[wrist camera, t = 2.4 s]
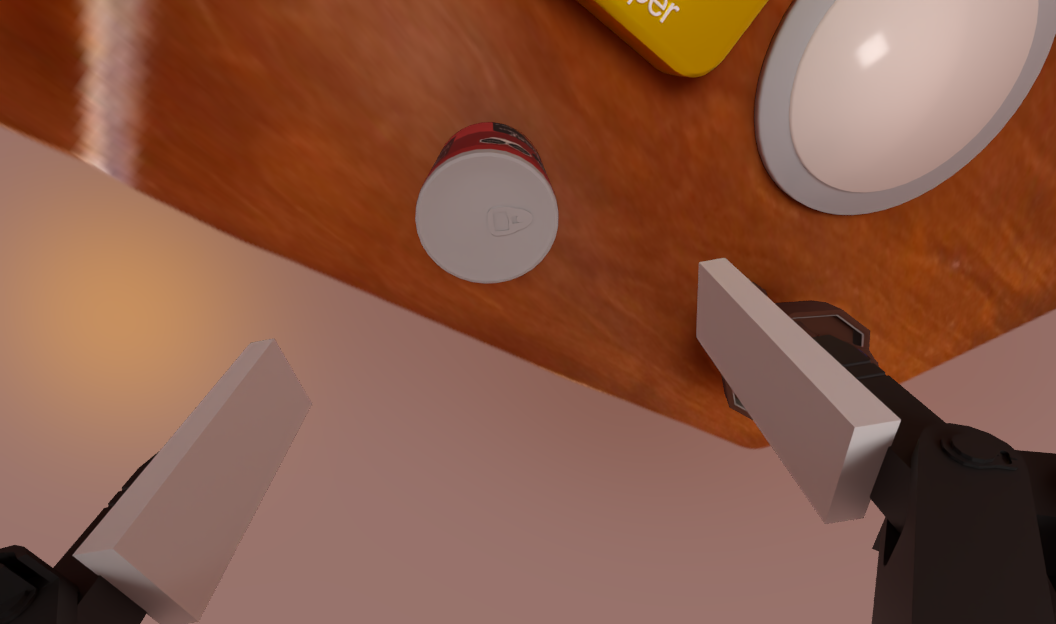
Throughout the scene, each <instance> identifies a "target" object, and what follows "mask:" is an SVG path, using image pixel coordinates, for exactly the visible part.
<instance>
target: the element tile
mask: <svg viewBox="0 0 1056 624" xmlns="http://www.w3.org/2000/svg"><path fill="white" fill-rule="evenodd" d="M576 1H577V2H578V3H580V4H581V5H582V6H583V7H584V8H585V9H587V10H588V11H589V12H590V13H591V14H592V15H594V16H595V17H596V18H597V19H598V20H600V21H601V22H602V23H603V24H604V25H605V26H607V27H608V28H609V29H610V30H611V31H612V32H614V33H615V34H616V35H617V36H618V37H619V38H621V39H622V40H623V41H624V42H625V43H626V44H628V45H629V46H630V47H631V48H632V49H634V50H635V51H636V52H637V53H638V54H639V55H641V56H642V57H643V58H644V59H645V60H646V61H648V62H649V63H650V64H651V65H652V66H653V67H655V68H656V69H657V70H659V71H661V72H663V73H666V74H671V75H676V76H682V77H689V78H695V77H700V76H704V75H705V74H707V73H708V72H710V71H711V70H713V69H714V68H716V67H717V66H718V65H719V64H720V63H721V62H722V61H723V59H724V58H725V57H726V56H727V54H728V53H729V52H730V50H731V49H732V48H733V46H734V45H735V44H736V42H737V41H738V40H739V38H740V37H741V36H742V34H743V33H744V32H745V30H746V29H747V28H748V26H749V25H750V24H751V23H752V21H753V20H754V19H755V17H756V16H757V15H758V13H759V12H760V11H761V9H762V8H763V7H764V5H765V4H766V3H767V1H768V0H576Z"/></svg>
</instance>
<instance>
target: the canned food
mask: <svg viewBox="0 0 1056 624" xmlns="http://www.w3.org/2000/svg"><path fill="white" fill-rule="evenodd" d="M415 220H416V227H417V233H418V235H419V238H420V241H421V243H422V245H423V247H424V249H425V250H426V252H427V253H428V255H429V256H430V257H431V258H432V259H433V260H434V262H435V263H436V264H437V265H439V266H440V267H441V268H443V269H444V270H445V271H447V272H448V273H450V274H452V275H454V276H456V277H458V278H461V279H464V280H467V281H471V282H477V283H499V282H504V281H509V280H512V279H514V278H517V277H519V276H522V275H524V274H525V273H527V272H528V271H530V270H532V269H533V268H534V267H535V266H536V265H537V264H539V263H540V262H541V261H542V260H543V258H544V257H545V256H546V254H547V253H548V252H549V250H550V248H551V246H552V244H553V242H554V240H555V237H556V233H557V228H558V207H557V201H556V197H555V194H554V191H553V188H552V186H551V183H550V181H549V179H548V176H547V174H546V171H545V169H544V167H543V164H542V162H541V159H540V157H539V155H538V152H537V150H536V149H535V147H534V146H533V144H532V143H531V141H530V140H529V139H528V138H527V137H525V136H524V135H523V134H522V133H520V132H519V131H517V130H516V129H514V128H512V127H509V126H507V125H504V124H499V123H493V122H488V123H478V124H474V125H470V126H468V127H466V128H464V129H462V130H460V131H459V132H457V133H456V134H455V135H453V136H452V137H451V138H450V140H449V141H448V142H447V143H446V144H445V146H444V148H443V149H442V151H441V153H440V155H439V157H438V158H437V160H436V162H435V164H434V166H433V167H432V169H431V171H430V173H429V175H428V176H427V178H426V180H425V182H424V184H423V186H422V188H421V190H420V194H419V197H418V200H417V206H416V219H415Z"/></svg>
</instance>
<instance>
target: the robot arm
mask: <svg viewBox="0 0 1056 624" xmlns="http://www.w3.org/2000/svg"><path fill="white" fill-rule="evenodd" d="M696 338H697V339H698V341H699V342H700V344H701V345H702V346H703V348H704V349H705V351H706V352H707V354H708V355H709V357H710V358H711V359H712V361H713V362H714V364H715V365H716V367H717V368H718V370H719V371H720V373H721V374H722V375H723V377H724V378H725V380H726V381H727V383H728V384H729V386H730V387H731V389H732V390H733V391H734V393H735V394H736V396H737V397H738V399H739V400H740V402H741V403H742V404H743V406H744V407H745V409H746V410H747V412H748V413H749V415H750V416H751V418H752V419H753V420H754V422H755V423H756V425H757V426H758V428H759V429H760V431H761V432H762V434H763V435H764V436H765V438H766V439H767V441H768V442H769V444H770V445H771V447H772V448H773V449H774V451H775V452H776V454H777V455H778V457H779V458H780V460H781V461H782V463H783V464H784V465H785V467H786V468H787V470H788V471H789V473H790V474H791V476H792V477H793V479H794V480H795V481H796V483H797V484H798V486H799V487H800V489H801V490H802V492H803V493H804V494H805V496H806V497H807V499H808V500H809V502H810V503H811V505H812V506H813V507H814V509H815V510H816V512H817V513H818V515H819V516H820V517H821V519H822V521H823V522H824V523H825V524H829V523H835V522H841V521H848V520H854V519H861V518H864V516H865V513H866V510H867V508H868V505H869V502H870V500H872V501H873V502H874V503H875V505H876V506H877V507H878V508H879V509H880V511H881V512H882V513H883V514H884V515H885V520H884V522H883V524H882V527H881V529H880V532H879V534H878V536H877V538H876V541H875V543H874V546H873V548H872V549H875V550H877V551H879V557H878V567H877V578H876V587H875V597H874V608H873V617H872V624H1056V454H1053V453H1042V452H1030V451H1019V450H1014V449H1013V448H1012V447H1011V446H1010V445H1008V444H1007V443H1005V442H1004V441H1002V440H1000V439H998V438H996V437H995V436H993V435H991V434H989V433H987V432H984V431H981V430H978V429H975V428H972V427H969V426H963V425H958V424H951V423H945V422H944V421H943V420H941V419H940V418H939V417H938V416H937V415H935V414H934V413H933V412H932V411H931V410H929V409H928V408H927V407H926V406H925V405H923V404H922V403H921V402H920V401H919V400H918V399H916V398H915V397H914V396H912V394H910V393H909V392H908V391H907V390H906V389H904V388H903V387H902V386H901V385H900V384H898V383H897V382H896V381H895V380H894V379H892V378H891V377H890V376H889V375H888V376H886V375H885V372H884V371H883V370H882V369H880V368H879V367H878V366H877V365H876V364H874V363H871V362H870V359H868V358H867V357H866V356H865V355H864V354H862V353H861V352H860V351H859V350H858V349H856V348H855V347H854V346H853V345H851V344H849V343H846V342H844V341H842V340H840V339H838V338H836V337H834V336H831V335H823V336H817V337H810V336H809V335H808V334H807V333H806V332H805V331H804V330H803V329H802V328H801V327H800V326H799V325H797V324H796V323H795V322H794V321H793V320H792V319H791V318H790V317H789V316H788V315H787V314H785V313H784V312H783V311H782V310H781V309H780V308H779V307H778V306H777V305H776V304H775V303H773V302H772V301H771V300H770V299H769V298H768V297H767V296H766V295H765V294H764V293H763V292H762V291H760V290H759V289H758V288H757V287H756V286H755V285H754V284H753V283H752V282H751V281H750V280H748V279H747V278H746V277H745V276H744V275H743V274H742V273H741V272H740V271H739V270H738V269H737V268H735V267H734V266H733V265H732V264H731V263H730V262H729V261H728V260H727V259H726V258H720V259H715V260H709V261H704V262H699V277H698V304H697V330H696ZM311 405H312V403H311V401H310V399H309V397H308V396H307V394H306V392H305V391H304V389H303V387H302V385H301V384H300V382H299V380H298V378H297V377H296V375H295V373H294V372H293V370H292V368H291V367H290V365H289V363H288V361H287V359H286V358H285V356H284V354H283V353H282V351H281V349H280V347H279V346H278V344H277V342H276V340H275V339H269V340H263V341H258V342H252V343H250V344H249V345H248V346H247V348H246V349H245V350H244V351H243V353H242V354H241V355H240V356H239V357H238V358H237V359H236V361H235V362H234V363H233V364H232V365H231V367H230V368H229V369H228V371H226V373H225V374H224V375H223V376H222V377H221V379H220V380H219V381H218V382H217V383H216V385H215V386H214V387H213V388H212V389H211V391H210V392H209V393H208V394H207V395H206V396H205V398H204V399H203V400H202V401H201V402H200V404H199V405H198V406H197V407H196V408H195V410H194V411H193V412H192V413H191V414H190V416H189V417H188V418H187V419H186V420H185V422H184V423H183V424H182V425H181V426H180V427H179V429H178V430H177V431H176V432H175V433H174V435H173V436H172V437H171V438H170V439H169V441H168V442H167V443H166V444H165V445H164V447H163V448H162V449H161V450H160V451H159V452H158V453H157V454H155V455H154V456H153V457H152V458H150V459H149V460H148V461H147V462H146V463H144V464H143V465H142V466H141V467H139V469H137V471H136V472H135V473H134V474H133V475H132V476H131V478H130V479H129V480H128V481H127V482H126V483H125V485H124V486H123V487H122V491H119V492H118V493H117V494H116V495H115V496H114V498H113V499H112V500H111V501H110V502H109V503H108V505H109V506H108V507H107V508H104V509H103V510H102V511H101V513H100V514H99V515H98V516H97V517H96V519H95V520H94V521H93V522H92V523H91V524H90V526H89V527H88V528H87V529H86V530H85V531H84V533H83V534H82V535H81V536H80V537H79V538H78V540H77V541H76V542H75V543H74V544H73V546H72V547H71V548H70V549H69V550H68V551H67V553H66V554H65V555H64V556H63V557H62V558H61V560H60V561H59V562H58V563H57V564H56V565H55V566H54V568H52V567H51V566H49V565H48V564H46V563H45V562H44V561H42V560H41V559H40V558H38V557H37V556H36V555H34V554H33V553H32V552H30V551H29V550H28V549H26V548H25V547H22V546H17V545H13V546H9V547H5V548H2V549H0V624H140V623H141V621H142V620H143V618H144V617H145V615H146V613H147V614H148V615H149V616H150V617H152V618H153V619H154V620H156V621H157V622H158V623H160V624H188V623H194V622H199V620H200V618H201V616H202V614H203V612H204V610H205V609H206V607H207V605H208V603H209V601H210V599H211V596H212V595H213V593H214V591H215V589H216V588H217V586H218V584H219V582H220V580H221V578H222V576H223V574H224V572H225V570H226V568H227V566H228V564H229V562H230V561H231V559H232V557H233V555H234V553H235V551H236V549H237V547H238V545H239V543H240V541H241V540H242V538H243V536H244V533H245V532H246V530H247V528H248V526H249V524H250V522H251V520H252V518H253V516H254V514H255V513H256V511H257V509H258V507H259V505H260V503H261V501H262V499H263V497H264V495H265V493H266V491H267V490H268V488H269V486H270V484H271V482H272V480H273V478H274V476H275V474H276V472H277V470H278V468H279V467H280V465H281V463H282V461H283V459H284V457H285V455H286V453H287V451H288V449H289V447H290V445H291V444H292V441H293V439H294V438H295V436H296V434H297V432H298V430H299V428H300V426H301V424H302V422H303V420H304V418H305V417H306V414H307V413H308V411H309V409H310V407H311Z"/></svg>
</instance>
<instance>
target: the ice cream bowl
mask: <svg viewBox="0 0 1056 624" xmlns="http://www.w3.org/2000/svg"><path fill="white" fill-rule="evenodd" d="M752 283H753V284H754V285H755V286H756V287H757V288H758V289H759V290H760V291H762V292H763V293H764V294H765V295H766V296H767V293H766V291H765V290H764V289H762V288H761V287H760V286H758V285H757V284H755V283H754V282H752ZM775 304H776V305H777V306H778V307H779V308H780V309H781V310H782V311H783V312H784V313H785V314H787V315H788V316H789V317H790V318H791V319H792V320H793V321H794V322H795V323H796V324H797V325H799V326H800V327H801V328H802V329H803V330H804V331H805V332H806V333H807V334H808V335H809V336H810V337H817V336H823V335H831V336H834V337H836V338H838V339H840V340H842V341H844V342H846V343H849V344H851V345H853V346H854V347H855V348H856V349H858V350H859V351H860V352H861V353H862V354H864V355H865V356H866V357H867V358H868V359H870V362H871V363H874V364H876V365H877V366H878V362H877V361H876V360H875V359H874V357H873V356H872V354H871V353H870V351H869V341H870V330H868V329H867V328H866V327H864V326H863V325H862V324H860V323H859V322H858V321H856V320H855V319H854V318H852V317H851V316H850V315H848V314H847V313H846V312H844V311H843V310H842V309H840V308H837V307H835V306H833V305H831V304H828V303H826V302H819V301H798V302H784V303H775ZM878 367H879V366H878ZM721 375H722V374H721ZM722 381H723V387H724V392H725V396H726V398H727V401H728V404H729V407H730V408H732V409H734V410H735V411H737V412H739V413H741V414H743V415H745V416H746V417H748V418H750V419H752V418H751V416H750V415H749V413H748V412H747V410H746V409H745V407H744V406H743V404H742V403H741V402H740V400H739V399H738V397H737V396H736V394H735V393H734V391H733V390H732V389H731V387H730V386H729V384H728V383H727V381H726V380H725V378H724V377H723V375H722ZM752 420H753V419H752Z"/></svg>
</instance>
